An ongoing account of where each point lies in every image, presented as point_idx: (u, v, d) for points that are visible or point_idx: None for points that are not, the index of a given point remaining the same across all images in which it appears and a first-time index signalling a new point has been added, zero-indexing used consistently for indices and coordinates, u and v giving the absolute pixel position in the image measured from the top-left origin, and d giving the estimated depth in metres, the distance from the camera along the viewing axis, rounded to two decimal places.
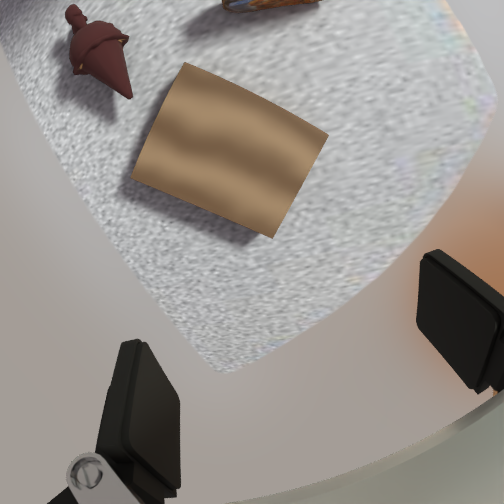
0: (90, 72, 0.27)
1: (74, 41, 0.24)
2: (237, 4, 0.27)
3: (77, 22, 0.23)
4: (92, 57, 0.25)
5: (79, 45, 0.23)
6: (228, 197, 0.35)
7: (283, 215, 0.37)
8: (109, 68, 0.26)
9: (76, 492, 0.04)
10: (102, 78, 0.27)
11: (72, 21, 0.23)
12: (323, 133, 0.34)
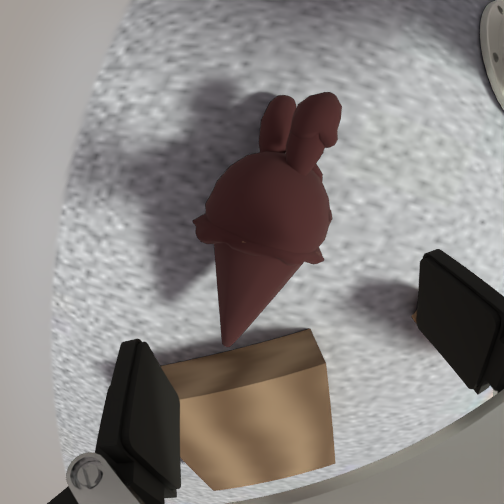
0: (220, 261, 0.16)
1: (263, 186, 0.14)
2: None
3: (306, 153, 0.13)
4: (254, 264, 0.15)
5: (265, 226, 0.13)
6: (213, 465, 0.25)
7: (239, 486, 0.28)
8: (252, 300, 0.16)
9: (76, 492, 0.04)
10: (225, 294, 0.16)
11: (303, 139, 0.13)
12: (333, 461, 0.28)
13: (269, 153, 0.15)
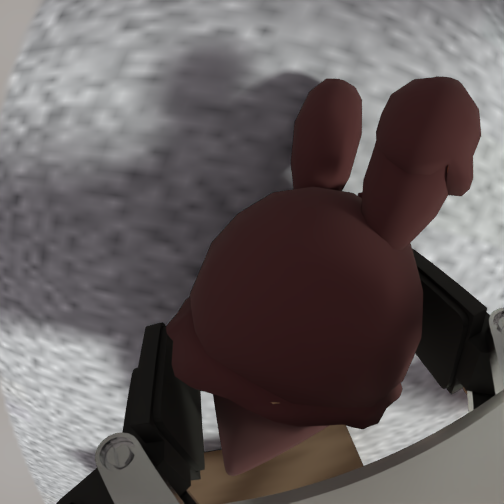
0: (221, 397, 0.08)
1: (323, 285, 0.06)
2: None
3: (415, 208, 0.06)
4: None
5: (326, 379, 0.06)
6: None
7: None
8: (277, 446, 0.08)
9: (107, 473, 0.05)
10: (231, 436, 0.09)
11: (414, 175, 0.05)
12: None
13: (324, 195, 0.07)
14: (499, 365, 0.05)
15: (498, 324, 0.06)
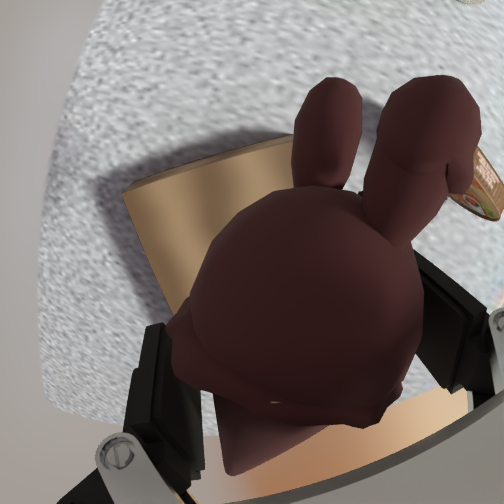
0: (221, 396, 0.08)
1: (323, 283, 0.06)
2: None
3: (415, 206, 0.06)
4: None
5: (327, 378, 0.05)
6: None
7: None
8: (277, 446, 0.08)
9: (107, 473, 0.05)
10: (231, 436, 0.09)
11: (415, 173, 0.05)
12: None
13: (324, 193, 0.07)
14: (499, 365, 0.05)
15: (498, 324, 0.06)
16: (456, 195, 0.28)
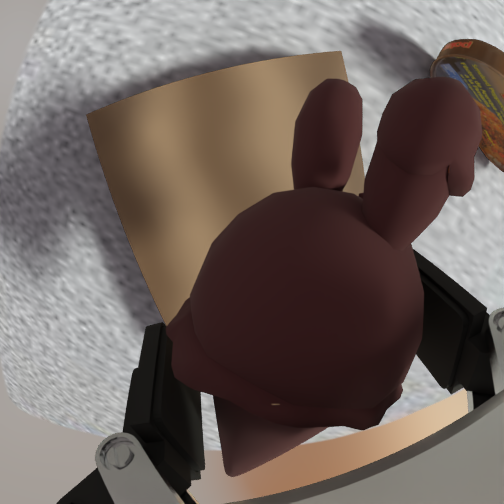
0: (221, 398, 0.08)
1: (324, 285, 0.06)
2: (448, 74, 0.16)
3: (416, 208, 0.06)
4: None
5: (327, 380, 0.05)
6: (187, 283, 0.19)
7: None
8: (277, 447, 0.08)
9: (106, 473, 0.05)
10: (231, 437, 0.09)
11: (415, 175, 0.05)
12: None
13: (324, 195, 0.07)
14: (499, 365, 0.05)
15: (498, 324, 0.06)
16: (500, 159, 0.21)
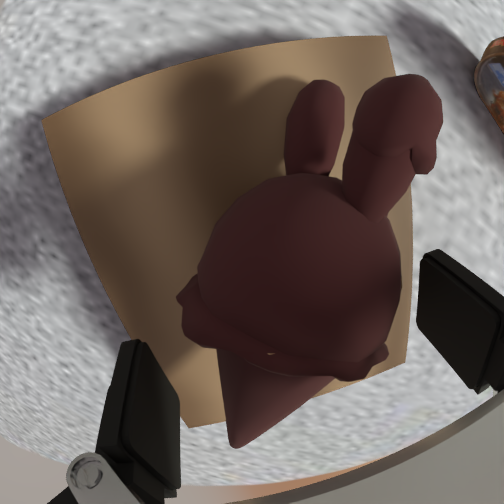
0: (225, 360, 0.09)
1: (308, 248, 0.07)
2: (496, 75, 0.12)
3: (385, 185, 0.07)
4: (285, 376, 0.08)
5: (314, 329, 0.07)
6: (183, 339, 0.14)
7: None
8: (276, 411, 0.10)
9: (76, 492, 0.04)
10: (234, 401, 0.10)
11: (383, 157, 0.07)
12: (403, 356, 0.17)
13: (310, 178, 0.08)
14: None
15: None
16: None
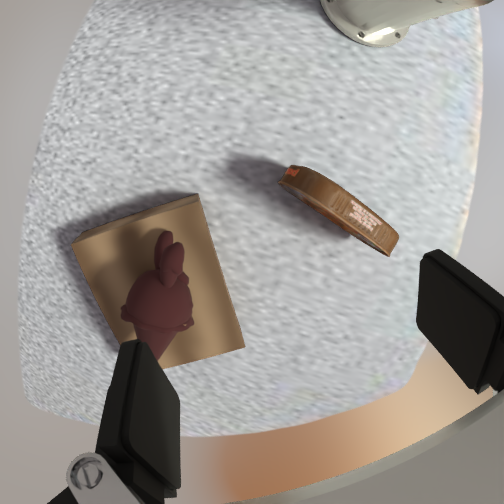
0: (135, 328, 0.28)
1: (147, 296, 0.26)
2: None
3: (167, 278, 0.26)
4: (148, 332, 0.27)
5: (148, 316, 0.26)
6: (130, 327, 0.33)
7: None
8: (153, 348, 0.29)
9: (76, 492, 0.04)
10: None
11: (164, 272, 0.26)
12: (242, 343, 0.36)
13: (154, 273, 0.28)
14: None
15: None
16: (356, 233, 0.37)
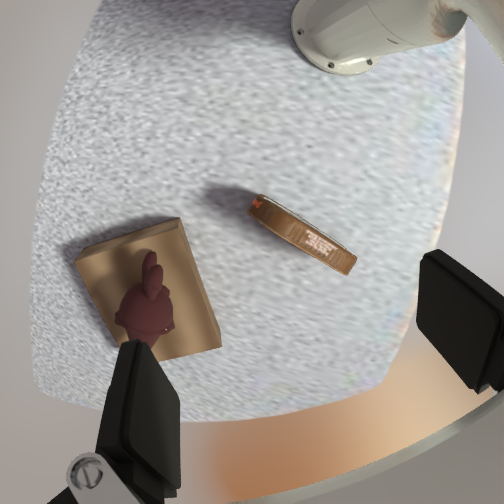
0: (126, 330, 0.34)
1: (134, 306, 0.32)
2: None
3: (150, 293, 0.32)
4: (136, 334, 0.33)
5: (135, 323, 0.32)
6: None
7: None
8: None
9: (76, 492, 0.04)
10: None
11: (147, 288, 0.32)
12: (219, 343, 0.42)
13: (140, 287, 0.33)
14: None
15: None
16: None
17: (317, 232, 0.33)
